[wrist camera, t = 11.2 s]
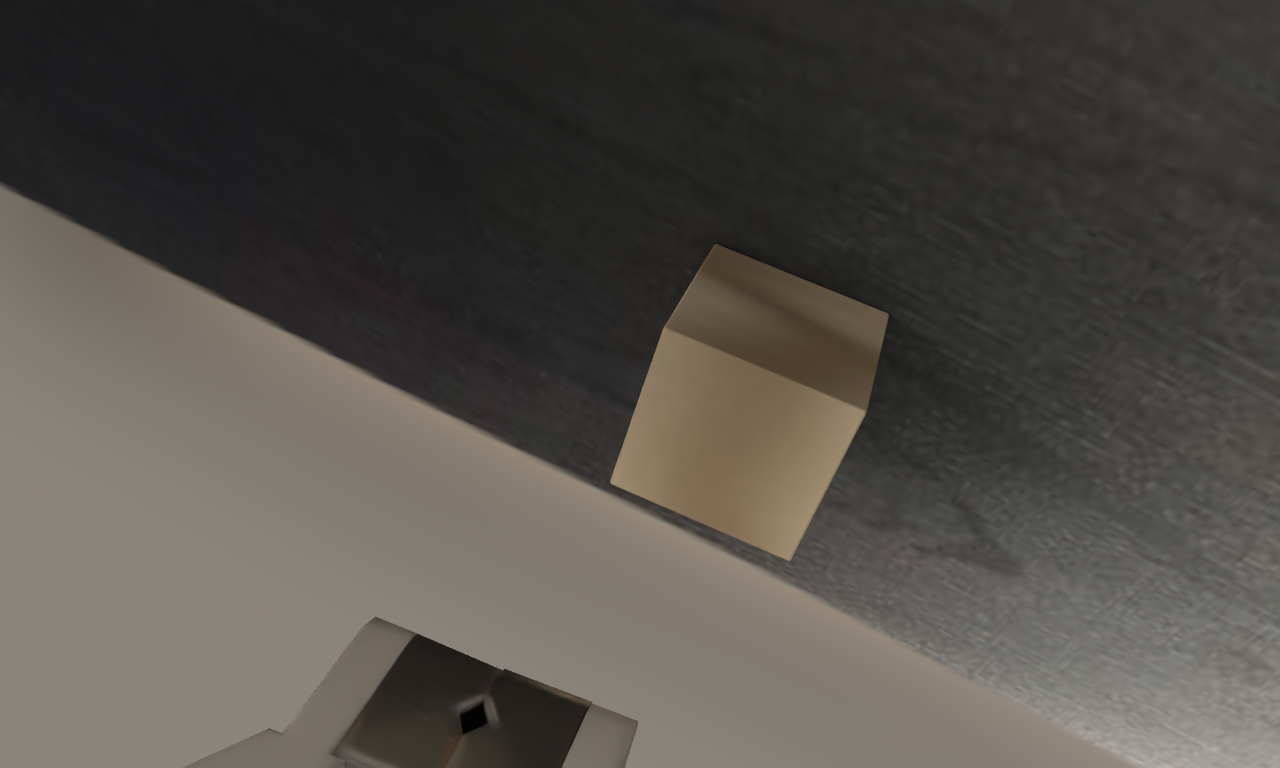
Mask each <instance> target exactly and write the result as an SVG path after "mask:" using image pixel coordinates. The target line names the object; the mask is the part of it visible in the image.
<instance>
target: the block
mask: <svg viewBox="0 0 1280 768" xmlns="http://www.w3.org/2000/svg"><path fill="white" fill-rule="evenodd" d="M888 318H889V314H888V313H886V312H883V311H881V310H878V309H876V308H873V307H871V306H868V305H866V304H863V303H861V302H858V301H856V300H854V299H851V298H849V297H846V296H844V295H841V294H839V293H836V292H834V291H831V290H829V289H826V288H824V287H821V286H819V285H816V284H814V283H812V282H809V281H807V280H804V279H802V278H799V277H797V276H794V275H792V274H789V273H787V272H784V271H782V270H779V269H777V268H774V267H772V266H770V265H767V264H765V263H762V262H760V261H757V260H755V259H752V258H750V257H747V256H745V255H742V254H740V253H737V252H735V251H732V250H730V249H728V248H725V247H723V246H720V245H718V244H715V245H714V246H713V248H712V249H711V251H710V253H709V254H708V256H707V257H706V259H705V261H704V262H703V264H702V266H701V267H700V269H699V271H698V272H697V274H696V276H695V277H694V279H693V281H692V282H691V284H690V285H689V287H688V289H687V290H686V292H685V294H684V295H683V297H682V299H681V300H680V302H679V304H678V305H677V307H676V308H675V310H674V312H673V313H672V315H671V317H670V318H669V320H668V322H667V323H666V325H665V327H664V328H663V331H662V334H661V337H660V340H659V342H658V345H657V348H656V351H655V354H654V357H653V360H652V363H651V365H650V368H649V371H648V374H647V377H646V380H645V383H644V386H643V388H642V391H641V394H640V397H639V400H638V403H637V406H636V409H635V412H634V414H633V417H632V420H631V423H630V426H629V429H628V432H627V435H626V437H625V440H624V443H623V446H622V449H621V452H620V455H619V458H618V460H617V463H616V466H615V469H614V472H613V475H612V478H611V481H610V483H611V484H613V485H615V486H617V487H620V488H622V489H624V490H626V491H629V492H631V493H633V494H636V495H638V496H640V497H643V498H645V499H647V500H650V501H652V502H654V503H656V504H659V505H661V506H663V507H666V508H668V509H670V510H673V511H675V512H677V513H680V514H682V515H684V516H687V517H689V518H691V519H693V520H696V521H698V522H700V523H703V524H705V525H707V526H710V527H712V528H714V529H717V530H719V531H721V532H723V533H726V534H728V535H730V536H733V537H735V538H737V539H740V540H742V541H744V542H747V543H749V544H751V545H753V546H756V547H758V548H760V549H763V550H765V551H767V552H770V553H772V554H774V555H777V556H779V557H781V558H783V559H786V560H788V561H790V560H791V559H792V557H793V555H794V553H795V551H796V549H797V547H798V545H799V543H800V541H801V539H802V537H803V535H804V533H805V531H806V530H807V528H808V526H809V524H810V522H811V520H812V518H813V516H814V514H815V512H816V510H817V508H818V506H819V504H820V502H821V500H822V498H823V496H824V494H825V493H826V491H827V489H828V487H829V485H830V483H831V481H832V479H833V477H834V475H835V473H836V471H837V469H838V467H839V465H840V463H841V461H842V459H843V457H844V456H845V454H846V452H847V450H848V448H849V446H850V444H851V442H852V440H853V438H854V436H855V434H856V432H857V430H858V428H859V426H860V424H861V422H862V421H863V419H864V417H865V415H866V413H867V408H868V404H869V400H870V395H871V391H872V387H873V383H874V378H875V374H876V370H877V365H878V361H879V357H880V352H881V348H882V344H883V339H884V335H885V331H886V327H887V322H888Z"/></svg>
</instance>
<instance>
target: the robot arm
mask: <svg viewBox="0 0 1280 768" xmlns="http://www.w3.org/2000/svg"><path fill="white" fill-rule="evenodd" d="M637 725H638V721H636V720H633V719H630V718H628V717H625V716H623V715H620V714H618V713H615V712H613V711H610V710H607V709H605V708H602V707H600V706H597V705H594V704H592V702H590V701H588V700H585V699H582V698H580V697H577V696H575V695H572V694H569V693H567V692H564V691H562V690H559V689H556V688H554V687H551V686H548V685H546V684H543V683H540V682H538V681H535V680H533V679H530V678H527V677H525V676H522V675H519V674H517V673H514V672H512V671H509V670H506V669H504V670H501V669H498V668H496V667H494V666H491V665H489V664H487V663H484V662H482V661H480V660H477V659H475V658H473V657H470V656H468V655H466V654H463V653H461V652H459V651H456V650H454V649H452V648H449V647H447V646H445V645H442V644H440V643H438V642H435V641H433V640H431V639H428V638H426V637H424V636H421V635H419V634H417V633H414V632H412V631H409V630H407V629H404V628H402V627H399V626H397V625H395V624H392V623H390V622H387V621H385V620H382V619H380V618H377V617H375V618H374V619H372V620H371V621H369V622H368V623H367V624H366V625H364V626H363V627H362V628H361V629H360V631H359V632H358V633H357V635H356V636H355V637H354V639H353V640H352V641H351V643H350V644H349V645H348V647H347V648H346V649H345V651H344V652H343V653H342V654H341V656H340V657H339V658H338V660H337V661H336V662H335V664H334V665H333V666H332V668H331V669H330V670H329V672H328V673H327V674H326V676H325V677H324V679H323V680H322V681H321V682H320V684H319V685H318V686H317V688H316V689H315V690H314V692H313V693H312V695H311V696H310V697H309V698H308V700H307V701H306V702H305V704H304V705H303V707H302V708H301V709H300V710H299V712H298V713H297V714H296V716H295V717H294V718H293V720H292V721H291V722H290V724H289V725H288V726H287V728H286V729H285V730H284V732H283V733H280V732H277V731H275V730H272V729H270V728H269V729H267V730H265V731H263V732H261V733H258V734H256V735H254V736H251V737H249V738H247V739H245V740H243V741H240V742H238V743H236V744H234V745H231V746H229V747H227V748H225V749H223V750H221V751H218V752H216V753H214V754H212V755H209V756H207V757H205V758H203V759H200V760H198V761H196V762H194V763H192V764H189V765H187V766H185V767H183V768H625V764H626V761H627V758H628V755H629V751H630V749H631V745H632V742H633V739H634V736H635V733H636V729H637Z"/></svg>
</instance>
